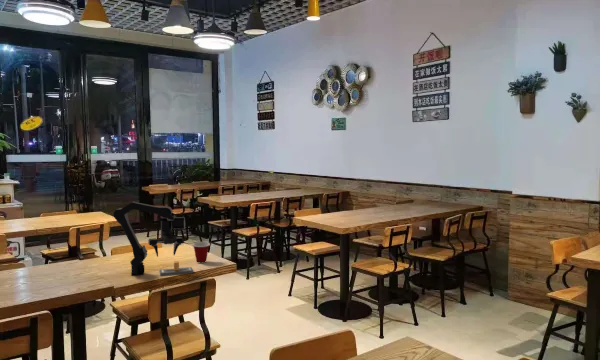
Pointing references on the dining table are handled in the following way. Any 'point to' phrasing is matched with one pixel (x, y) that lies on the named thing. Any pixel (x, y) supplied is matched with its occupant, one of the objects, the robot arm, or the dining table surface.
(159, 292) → the dining table surface
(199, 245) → the plastic cup
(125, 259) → the dining table surface
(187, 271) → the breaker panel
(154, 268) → the dining table surface
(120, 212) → the robot arm
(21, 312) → the dining table surface
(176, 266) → the handle
